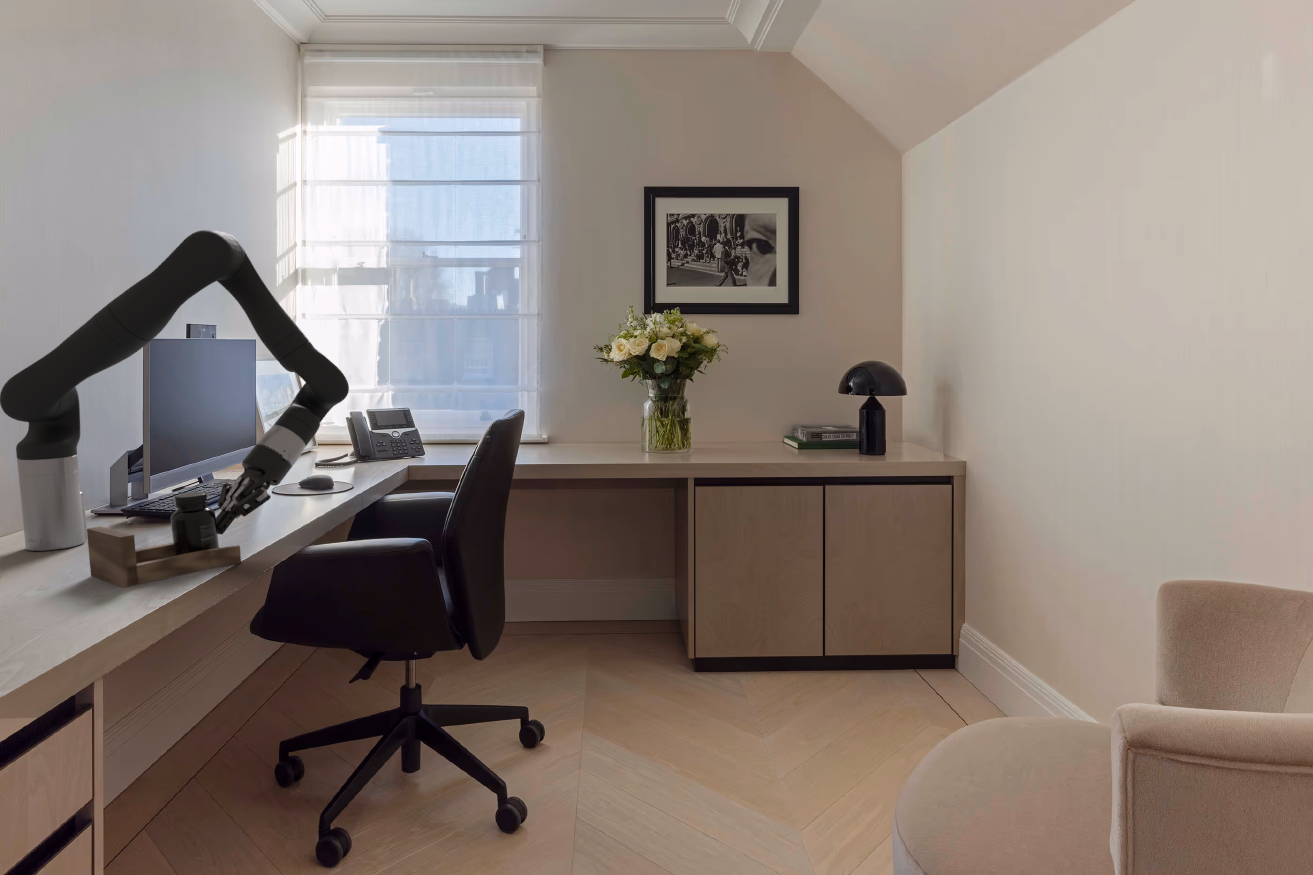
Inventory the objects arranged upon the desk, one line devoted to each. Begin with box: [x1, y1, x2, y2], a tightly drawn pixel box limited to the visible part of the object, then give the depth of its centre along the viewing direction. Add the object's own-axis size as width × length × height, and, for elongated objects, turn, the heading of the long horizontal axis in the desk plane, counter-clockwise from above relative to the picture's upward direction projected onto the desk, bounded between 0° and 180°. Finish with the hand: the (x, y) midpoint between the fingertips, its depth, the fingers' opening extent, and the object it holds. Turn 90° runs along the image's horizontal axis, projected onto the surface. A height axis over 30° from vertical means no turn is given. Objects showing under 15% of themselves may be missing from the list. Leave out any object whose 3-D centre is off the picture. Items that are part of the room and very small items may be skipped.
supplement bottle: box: [170, 491, 220, 556], centre depth 143 cm, size 7×7×12 cm
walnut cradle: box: [86, 526, 242, 588], centre depth 139 cm, size 18×15×8 cm
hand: (215, 531), depth 146 cm, fingers closed
